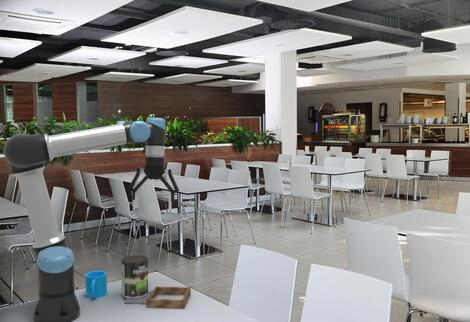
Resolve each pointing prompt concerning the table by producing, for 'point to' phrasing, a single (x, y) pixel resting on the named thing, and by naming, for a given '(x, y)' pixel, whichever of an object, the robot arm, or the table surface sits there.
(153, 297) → the crate
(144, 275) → the coffee can
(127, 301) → the mat
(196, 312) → the table surface
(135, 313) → the table surface
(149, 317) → the table surface
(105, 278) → the mug
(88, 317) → the table surface
